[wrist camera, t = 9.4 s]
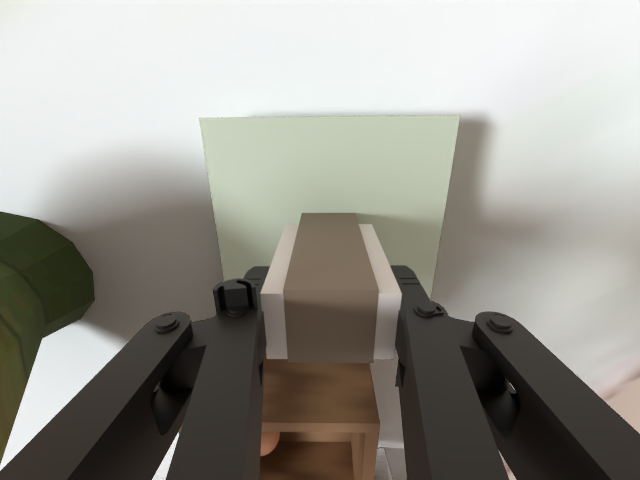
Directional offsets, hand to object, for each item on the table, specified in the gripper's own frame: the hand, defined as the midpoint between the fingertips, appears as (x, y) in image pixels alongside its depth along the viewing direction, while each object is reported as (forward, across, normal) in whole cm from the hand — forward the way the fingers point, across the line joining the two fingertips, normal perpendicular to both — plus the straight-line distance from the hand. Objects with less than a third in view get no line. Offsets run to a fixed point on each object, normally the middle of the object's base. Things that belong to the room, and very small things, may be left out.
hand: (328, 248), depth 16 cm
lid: (+3, 0, 0) cm, 3 cm away
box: (+4, -3, -16) cm, 17 cm away
